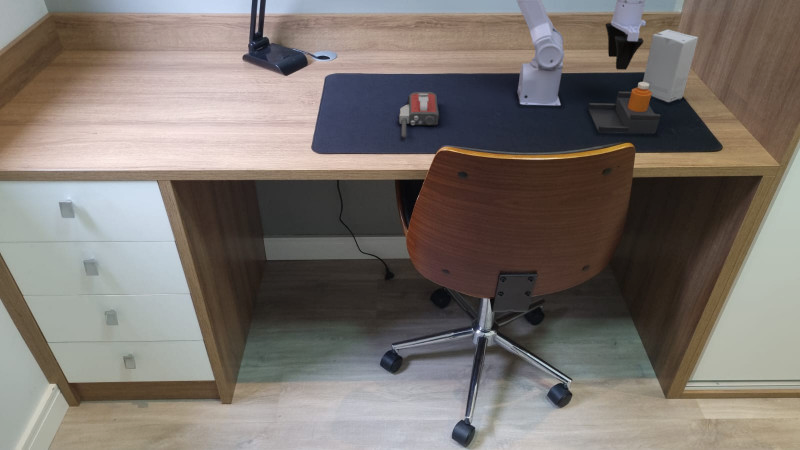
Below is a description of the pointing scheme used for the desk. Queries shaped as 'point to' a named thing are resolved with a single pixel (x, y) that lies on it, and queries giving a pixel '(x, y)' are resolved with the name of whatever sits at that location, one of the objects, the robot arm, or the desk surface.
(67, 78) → the desk surface
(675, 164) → the desk surface
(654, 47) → the cosmetic box
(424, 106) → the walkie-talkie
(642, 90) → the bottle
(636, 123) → the rack
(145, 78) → the desk surface
